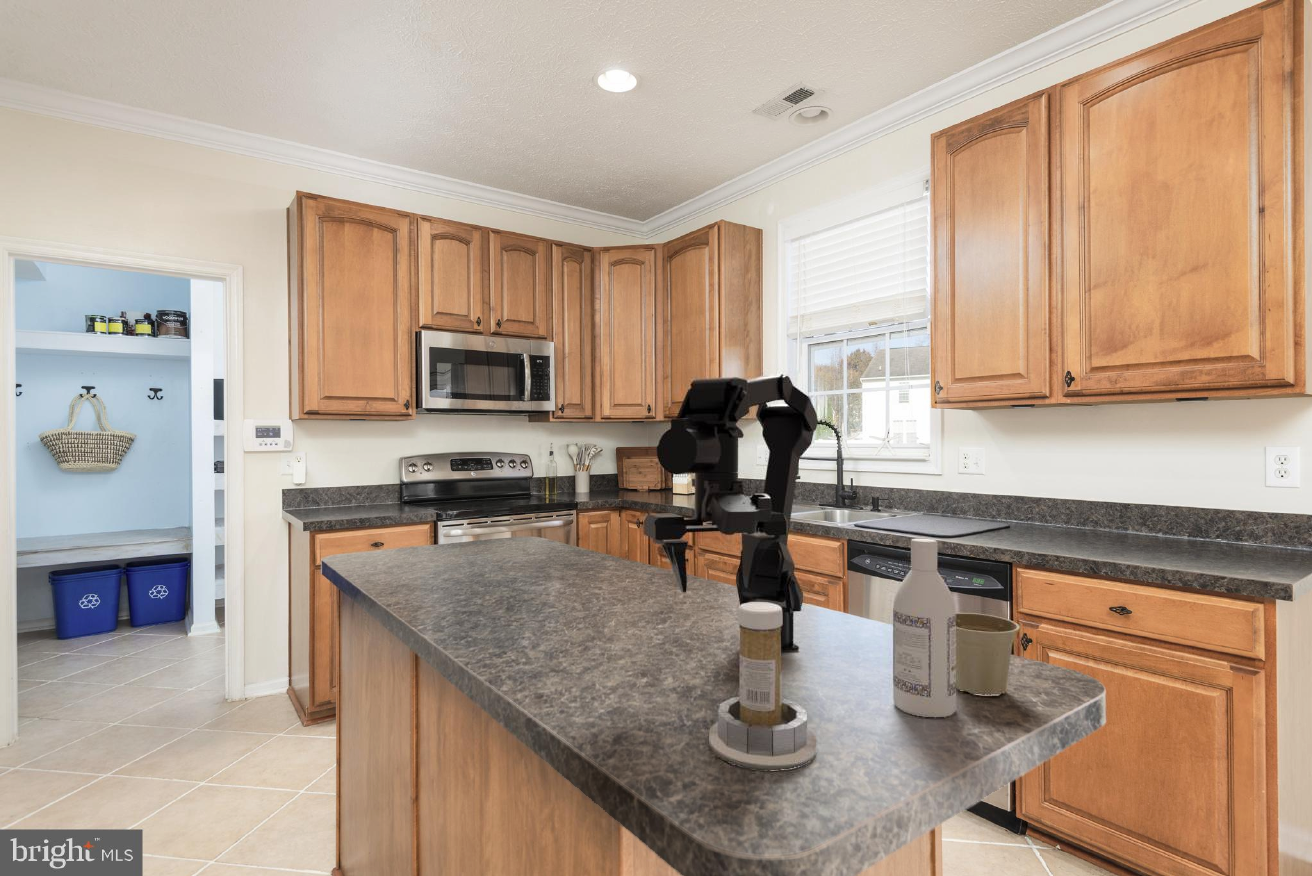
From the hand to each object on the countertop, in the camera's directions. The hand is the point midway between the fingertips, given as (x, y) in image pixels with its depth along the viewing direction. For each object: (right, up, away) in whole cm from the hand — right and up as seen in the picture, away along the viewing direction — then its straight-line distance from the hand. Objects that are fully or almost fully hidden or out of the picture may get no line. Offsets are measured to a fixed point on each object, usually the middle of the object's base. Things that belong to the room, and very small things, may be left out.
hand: (715, 589), depth 88 cm
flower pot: (+34, -12, -3) cm, 36 cm away
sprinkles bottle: (+3, -11, -19) cm, 22 cm away
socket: (+3, -12, -19) cm, 23 cm away
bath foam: (+24, -12, -9) cm, 28 cm away
